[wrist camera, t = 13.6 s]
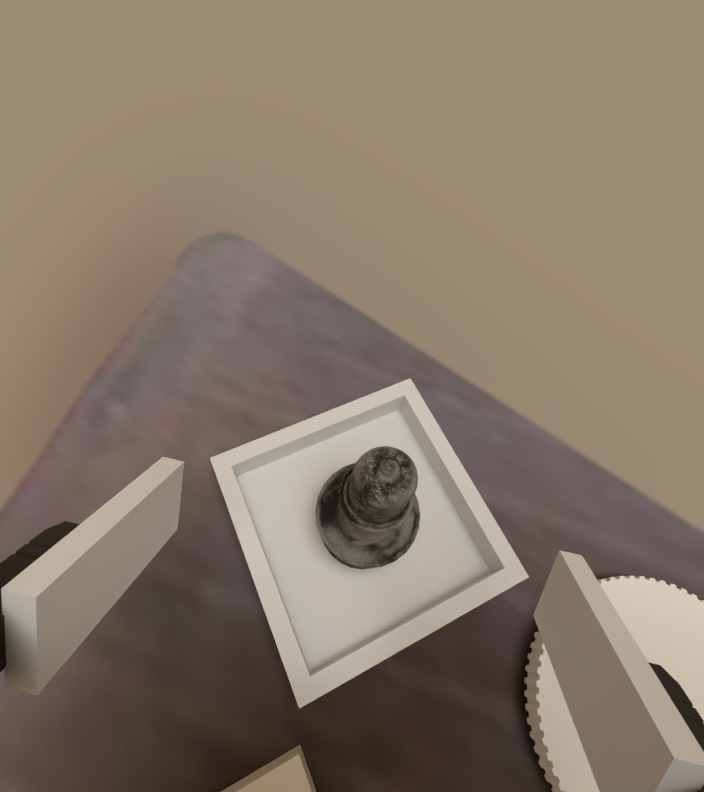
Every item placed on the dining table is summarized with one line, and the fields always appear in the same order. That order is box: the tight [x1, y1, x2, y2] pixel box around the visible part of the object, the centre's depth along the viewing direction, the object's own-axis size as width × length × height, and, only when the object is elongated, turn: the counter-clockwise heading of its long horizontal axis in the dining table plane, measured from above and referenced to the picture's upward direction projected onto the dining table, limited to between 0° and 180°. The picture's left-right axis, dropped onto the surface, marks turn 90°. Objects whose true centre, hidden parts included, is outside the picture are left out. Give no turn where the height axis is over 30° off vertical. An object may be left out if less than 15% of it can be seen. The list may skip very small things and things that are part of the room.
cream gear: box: [524, 576, 704, 792], centre depth 25 cm, size 14×14×2 cm
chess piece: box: [315, 446, 420, 569], centre depth 23 cm, size 6×6×12 cm
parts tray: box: [210, 379, 529, 709], centre depth 28 cm, size 14×14×3 cm
